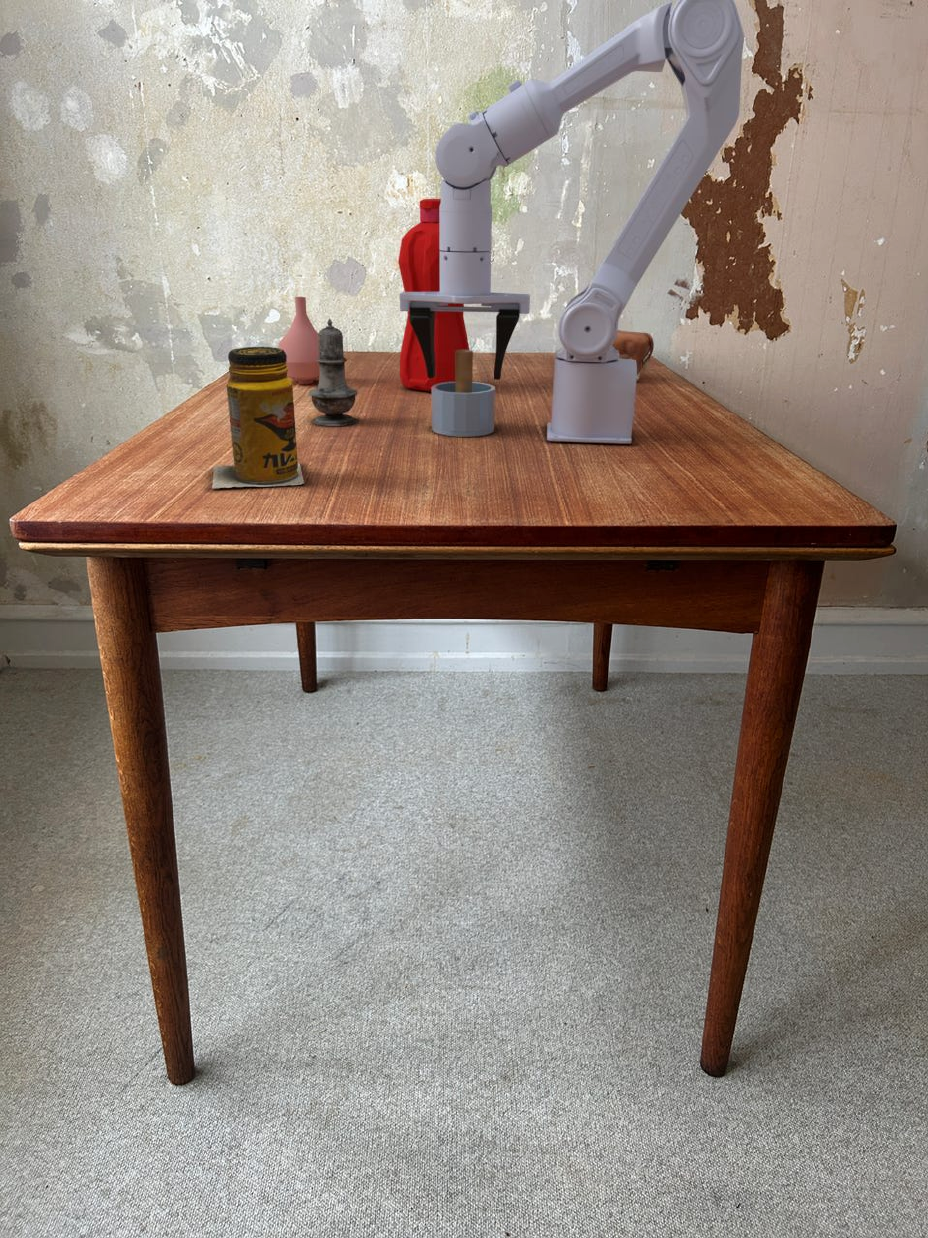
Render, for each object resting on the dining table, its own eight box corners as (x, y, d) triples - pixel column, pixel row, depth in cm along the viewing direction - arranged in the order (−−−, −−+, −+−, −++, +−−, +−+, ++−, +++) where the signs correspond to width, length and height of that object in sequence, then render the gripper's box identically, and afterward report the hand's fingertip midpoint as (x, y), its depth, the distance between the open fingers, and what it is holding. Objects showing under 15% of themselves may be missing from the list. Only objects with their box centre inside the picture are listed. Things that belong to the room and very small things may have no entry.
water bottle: (484, 384, 133) (489, 199, 122) (444, 395, 124) (445, 198, 114) (433, 377, 137) (433, 198, 127) (391, 388, 129) (387, 197, 118)
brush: (476, 422, 107) (478, 349, 103) (474, 427, 104) (476, 353, 101) (451, 421, 107) (452, 348, 104) (449, 426, 105) (449, 352, 101)
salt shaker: (350, 428, 106) (345, 322, 101) (303, 425, 107) (296, 320, 102) (364, 417, 111) (361, 316, 106) (320, 415, 112) (314, 315, 107)
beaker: (495, 423, 109) (496, 382, 107) (492, 438, 102) (493, 394, 100) (435, 421, 110) (435, 380, 107) (428, 435, 103) (428, 392, 101)
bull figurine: (588, 369, 146) (592, 317, 143) (655, 381, 137) (661, 325, 134) (571, 372, 143) (574, 319, 140) (638, 384, 135) (643, 328, 131)
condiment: (304, 485, 84) (296, 354, 79) (212, 490, 82) (197, 356, 77) (299, 465, 91) (291, 343, 86) (214, 469, 89) (200, 344, 84)
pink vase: (305, 375, 137) (300, 293, 132) (342, 381, 133) (338, 296, 128) (268, 382, 131) (261, 297, 126) (304, 389, 127) (299, 300, 122)
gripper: (394, 251, 95) (397, 381, 100) (530, 253, 93) (525, 385, 99) (404, 248, 101) (406, 371, 107) (532, 250, 100) (527, 374, 106)
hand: (464, 377), depth 103 cm, fingers open, 7 cm apart
